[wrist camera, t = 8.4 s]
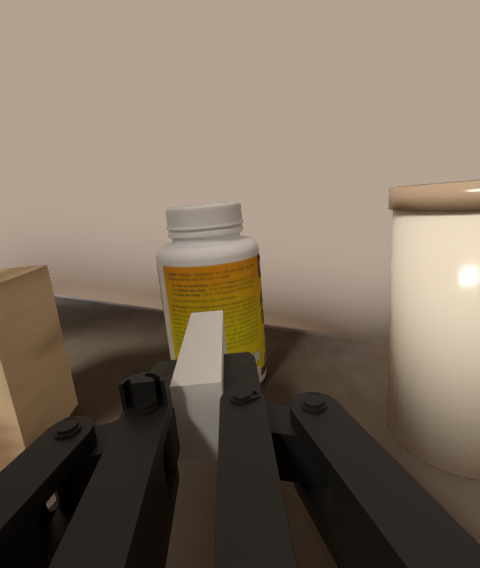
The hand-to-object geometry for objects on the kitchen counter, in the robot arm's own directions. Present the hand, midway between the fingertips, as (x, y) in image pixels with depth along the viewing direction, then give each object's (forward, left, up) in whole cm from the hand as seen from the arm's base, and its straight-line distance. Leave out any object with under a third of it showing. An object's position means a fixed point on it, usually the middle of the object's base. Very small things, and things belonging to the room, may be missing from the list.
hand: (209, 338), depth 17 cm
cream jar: (+8, +10, -7) cm, 14 cm away
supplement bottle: (-6, +5, -7) cm, 11 cm away
